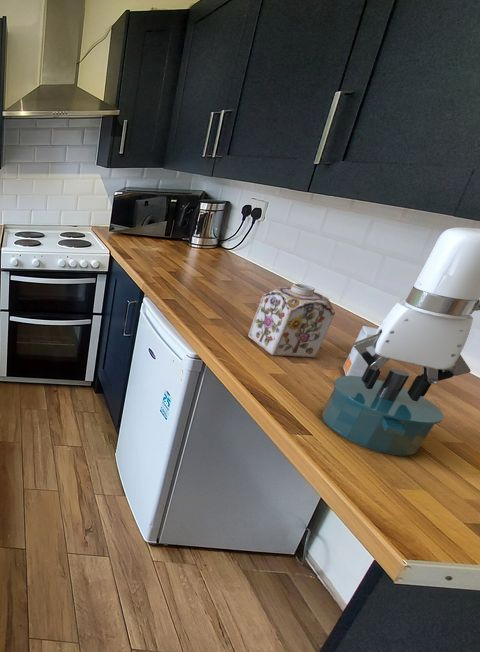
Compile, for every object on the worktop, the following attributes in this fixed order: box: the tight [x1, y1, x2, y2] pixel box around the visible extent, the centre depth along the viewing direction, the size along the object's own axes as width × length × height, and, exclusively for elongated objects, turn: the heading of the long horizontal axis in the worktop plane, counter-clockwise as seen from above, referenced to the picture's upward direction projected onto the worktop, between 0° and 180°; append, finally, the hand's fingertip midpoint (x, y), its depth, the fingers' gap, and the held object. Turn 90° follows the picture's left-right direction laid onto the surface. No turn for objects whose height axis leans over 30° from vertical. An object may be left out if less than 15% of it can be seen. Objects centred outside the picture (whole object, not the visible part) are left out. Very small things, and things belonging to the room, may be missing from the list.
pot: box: [321, 387, 435, 457], centre depth 78 cm, size 14×19×8 cm
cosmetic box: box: [342, 325, 378, 377], centre depth 96 cm, size 6×4×12 cm
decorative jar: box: [247, 283, 336, 358], centre depth 108 cm, size 12×12×18 cm
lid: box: [333, 368, 444, 425], centre depth 75 cm, size 15×15×7 cm
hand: (389, 390), depth 75 cm, fingers open, 5 cm apart
